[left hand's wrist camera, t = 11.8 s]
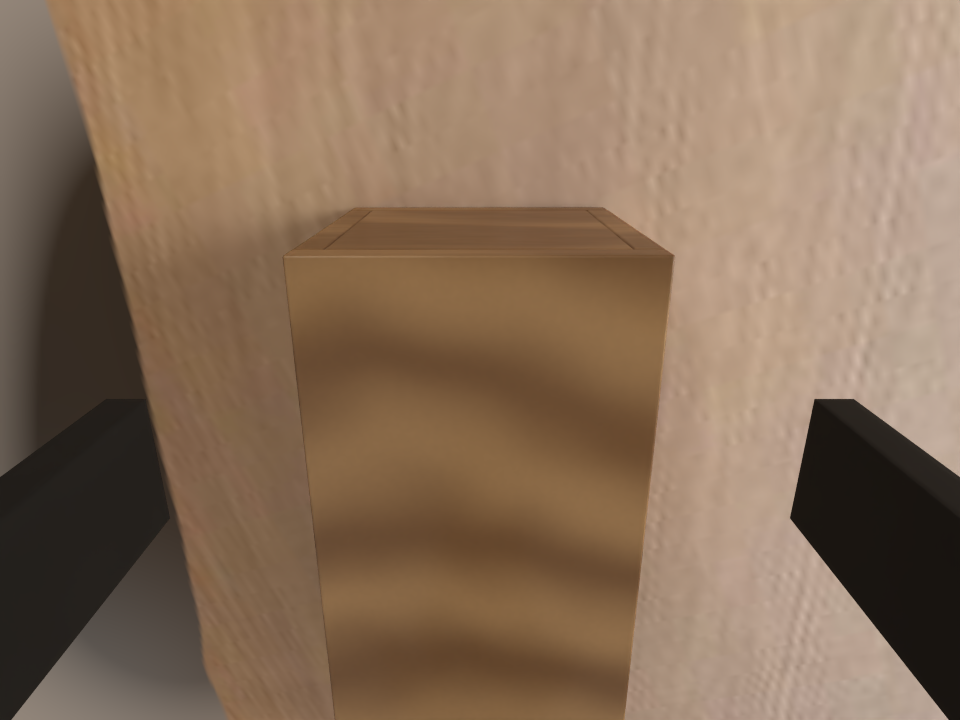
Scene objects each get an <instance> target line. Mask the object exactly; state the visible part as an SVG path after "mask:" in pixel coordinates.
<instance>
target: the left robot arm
mask: <svg viewBox="0 0 960 720" xmlns="http://www.w3.org/2000/svg"><path fill="white" fill-rule="evenodd" d="M169 519H170V516H169V512H168V507H167V502H166V497H165V492H164V487H163V482H162V478H161V473H160V468H159V463H158V458H157V453H156V448H155V443H154V439H153V434H152V429H151V424H150V420H149V414H148V409H147V405H146V400H145V399H106V400H104V401H103V402H102V403H100V404H99V405H98V406H96V407H95V408H94V409H92V410H91V411H90V412H88V413H87V414H85V415H84V416H83V417H81V418H80V419H79V420H77V421H76V422H75V423H73V424H72V425H70V426H69V427H68V428H67V429H65V430H64V431H62V432H61V433H60V434H58V435H57V436H56V437H54V438H53V439H51V440H50V441H49V442H47V443H46V444H45V445H43V446H42V447H41V448H39V449H38V450H37V451H35V452H34V453H32V454H31V455H30V456H28V457H27V458H26V459H24V460H23V461H22V462H20V463H19V464H17V465H16V466H15V467H13V468H12V469H11V470H9V471H8V472H7V473H5V474H4V475H3V476H1V477H0V720H11V719H12V718H13V717H14V716H15V714H16V713H17V712H18V710H19V709H20V708H21V707H22V705H23V704H24V703H25V702H26V700H27V699H28V698H29V696H30V695H31V694H32V693H33V691H34V690H35V689H36V688H37V686H38V685H39V684H40V683H41V681H42V680H43V679H44V677H45V676H46V675H47V674H48V672H49V671H50V670H51V669H52V667H53V666H54V665H55V663H56V662H57V661H58V660H59V658H60V657H61V656H62V655H63V653H64V652H65V651H66V650H67V648H68V647H69V646H70V644H71V643H72V642H73V640H74V639H75V638H76V637H77V636H78V634H79V633H80V632H81V630H82V629H83V628H84V627H85V625H86V624H87V623H88V621H89V620H90V619H91V618H92V616H93V615H94V614H95V613H96V611H97V610H98V609H99V608H100V606H101V605H102V604H103V603H104V601H105V600H106V599H107V597H108V596H109V595H110V594H111V592H112V591H113V590H114V589H115V587H116V586H117V585H118V583H119V582H120V581H121V580H122V578H123V577H124V576H125V575H126V573H127V572H128V571H129V570H130V568H131V567H132V566H133V564H134V563H135V562H136V561H137V559H138V558H139V557H140V556H141V554H142V553H143V552H144V550H145V549H146V548H147V547H148V545H149V544H150V543H151V542H152V540H153V539H154V538H155V536H156V535H157V534H158V533H159V531H160V530H161V529H162V528H163V526H164V525H165V524H166V522H167V521H168V520H169ZM790 519H791V520H792V521H793V523H794V524H795V525H796V526H797V528H798V529H799V530H800V531H801V533H802V534H803V535H804V536H805V538H806V539H807V540H808V542H809V543H810V544H811V545H812V547H813V548H814V549H815V550H816V552H817V553H818V554H819V556H820V557H821V558H822V559H823V561H824V562H825V563H826V564H827V566H828V567H829V568H830V570H831V571H832V572H833V573H834V575H835V576H836V577H837V578H838V580H839V581H840V582H841V583H842V585H843V586H844V587H845V589H846V590H847V591H848V592H849V594H850V595H851V596H852V597H853V599H854V600H855V601H856V603H857V604H858V605H859V606H860V608H861V609H862V610H863V611H864V613H865V614H866V615H867V617H868V618H869V619H870V620H871V622H872V623H873V624H874V625H875V627H876V628H877V629H878V630H879V632H880V633H881V634H882V636H883V637H884V638H885V639H886V641H887V642H888V643H889V644H890V646H891V647H892V648H893V650H894V651H895V652H896V653H897V655H898V656H899V657H900V658H901V660H902V661H903V662H904V663H905V665H906V666H907V667H908V669H909V670H910V671H911V672H912V674H913V675H914V676H915V677H916V679H917V680H918V681H919V683H920V684H921V685H922V686H923V688H924V689H925V690H926V691H927V693H928V694H929V695H930V697H931V698H932V699H933V700H934V702H935V703H936V704H937V705H938V707H939V708H940V709H941V710H942V712H943V713H944V714H945V716H946V717H947V718H948V719H949V720H960V477H959V476H958V475H956V474H955V473H953V472H952V471H951V470H949V469H948V468H947V467H945V466H944V465H943V464H941V463H940V462H938V461H937V460H936V459H934V458H933V457H932V456H930V455H929V454H928V453H926V452H925V451H924V450H922V449H921V448H919V447H918V446H917V445H915V444H914V443H913V442H911V441H910V440H909V439H907V438H906V437H904V436H903V435H902V434H900V433H899V432H898V431H896V430H895V429H894V428H892V427H891V426H890V425H888V424H887V423H885V422H884V421H883V420H881V419H880V418H879V417H877V416H876V415H875V414H873V413H872V412H870V411H869V410H868V409H866V408H865V407H864V406H862V405H861V404H860V403H858V402H857V401H856V400H854V399H815V400H814V405H813V409H812V414H811V419H810V424H809V429H808V434H807V439H806V443H805V448H804V453H803V458H802V463H801V468H800V473H799V478H798V482H797V487H796V492H795V497H794V502H793V507H792V512H791V516H790Z"/></svg>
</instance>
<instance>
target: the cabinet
mask: <svg viewBox="0 0 960 720" xmlns="http://www.w3.org/2000/svg"><path fill="white" fill-rule="evenodd" d="M674 261H675V256H674V255H673V254H671V253H670V252H669V251H667V250H665V249H664V248H663V247H661V246H660V245H658V244H657V243H655V242H654V241H652V240H651V239H649V238H648V237H646V236H645V235H643V234H642V233H640V232H639V231H638V230H636V229H635V228H633V227H632V226H630V225H629V224H627V223H626V222H624V221H623V220H621V219H620V218H618V217H617V216H616V215H614V214H613V213H611V212H610V211H608V210H606V209H605V208H354V209H353V210H351V211H350V212H348V213H347V214H345V215H344V216H342V217H341V218H339V219H338V220H336V221H335V222H333V223H332V224H330V225H329V226H327V227H326V228H324V229H323V230H322V231H320V232H319V233H317V234H316V235H314V236H313V237H311V238H310V239H308V240H307V241H305V242H304V243H302V244H301V245H299V246H298V247H296V248H295V249H293V250H291V251H290V252H288V253H287V254H285V255H284V256H283V264H284V272H285V281H286V290H287V299H288V308H289V317H290V325H291V334H292V343H293V352H294V361H295V370H296V379H297V387H298V396H299V405H300V414H301V423H302V432H303V441H304V449H305V458H306V467H307V476H308V485H309V494H310V503H311V511H312V520H313V529H314V538H315V547H316V556H317V565H318V573H319V582H320V591H321V600H322V609H323V618H324V627H325V635H326V644H327V653H328V662H329V671H330V680H331V689H332V697H333V706H334V715H335V720H624V717H625V708H626V698H627V689H628V680H629V671H630V662H631V653H632V644H633V635H634V626H635V617H636V607H637V598H638V589H639V580H640V571H641V562H642V553H643V544H644V535H645V525H646V516H647V507H648V498H649V489H650V480H651V471H652V462H653V453H654V443H655V434H656V425H657V416H658V407H659V398H660V389H661V380H662V371H663V362H664V352H665V343H666V334H667V325H668V316H669V307H670V298H671V289H672V280H673V270H674Z"/></svg>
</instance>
